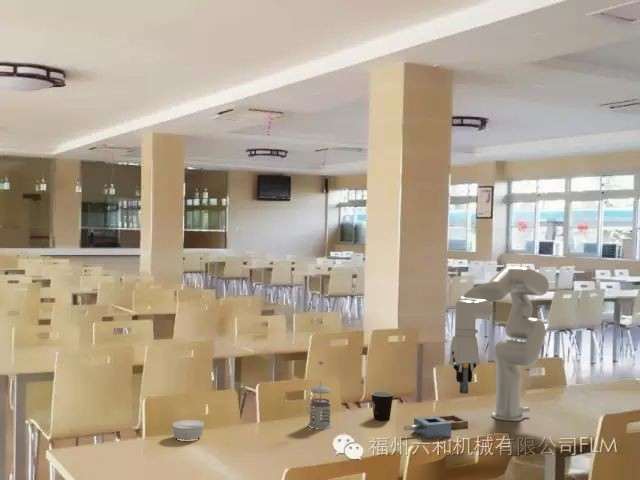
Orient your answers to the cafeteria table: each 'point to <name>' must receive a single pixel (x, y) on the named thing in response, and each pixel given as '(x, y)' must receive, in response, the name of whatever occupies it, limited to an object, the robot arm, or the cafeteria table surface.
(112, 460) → the cafeteria table surface
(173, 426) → the ramekin
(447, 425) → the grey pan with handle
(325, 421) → the french press
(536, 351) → the robot arm
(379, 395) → the coffee mug
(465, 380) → the orange grey cylinder
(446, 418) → the tray
